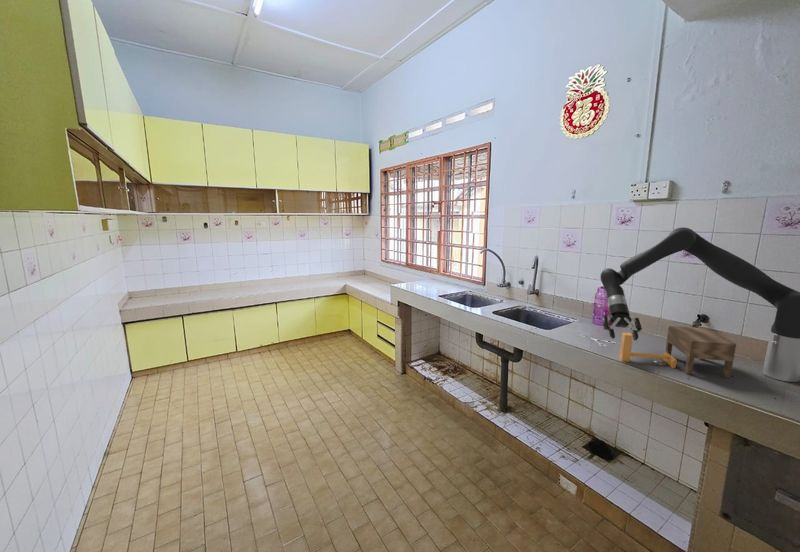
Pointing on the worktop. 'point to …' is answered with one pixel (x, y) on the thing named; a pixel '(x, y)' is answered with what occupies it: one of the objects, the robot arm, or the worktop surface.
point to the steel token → (660, 362)
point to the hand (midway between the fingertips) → (624, 338)
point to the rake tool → (626, 353)
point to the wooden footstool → (701, 346)
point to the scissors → (600, 340)
